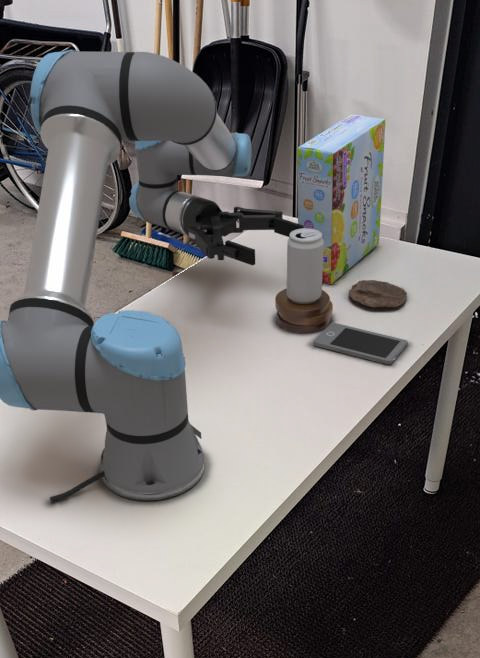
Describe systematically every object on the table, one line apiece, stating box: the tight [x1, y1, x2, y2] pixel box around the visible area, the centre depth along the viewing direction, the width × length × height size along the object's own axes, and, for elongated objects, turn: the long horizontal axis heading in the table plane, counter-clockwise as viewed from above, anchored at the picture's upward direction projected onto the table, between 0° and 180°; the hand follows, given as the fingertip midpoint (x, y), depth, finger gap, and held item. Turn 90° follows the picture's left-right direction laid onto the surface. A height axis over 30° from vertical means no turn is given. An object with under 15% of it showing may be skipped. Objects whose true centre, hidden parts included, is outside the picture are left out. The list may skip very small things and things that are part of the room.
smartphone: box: [312, 322, 408, 365], centre depth 152 cm, size 15×8×1 cm, turn 60°
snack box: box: [296, 114, 386, 285], centre depth 170 cm, size 22×9×26 cm, turn 147°
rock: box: [348, 279, 408, 308], centre depth 165 cm, size 11×12×3 cm
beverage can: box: [286, 228, 324, 304], centre depth 153 cm, size 6×6×12 cm
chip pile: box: [274, 287, 334, 334], centre depth 158 cm, size 10×10×4 cm
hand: (278, 245), depth 154 cm, fingers open, 13 cm apart
